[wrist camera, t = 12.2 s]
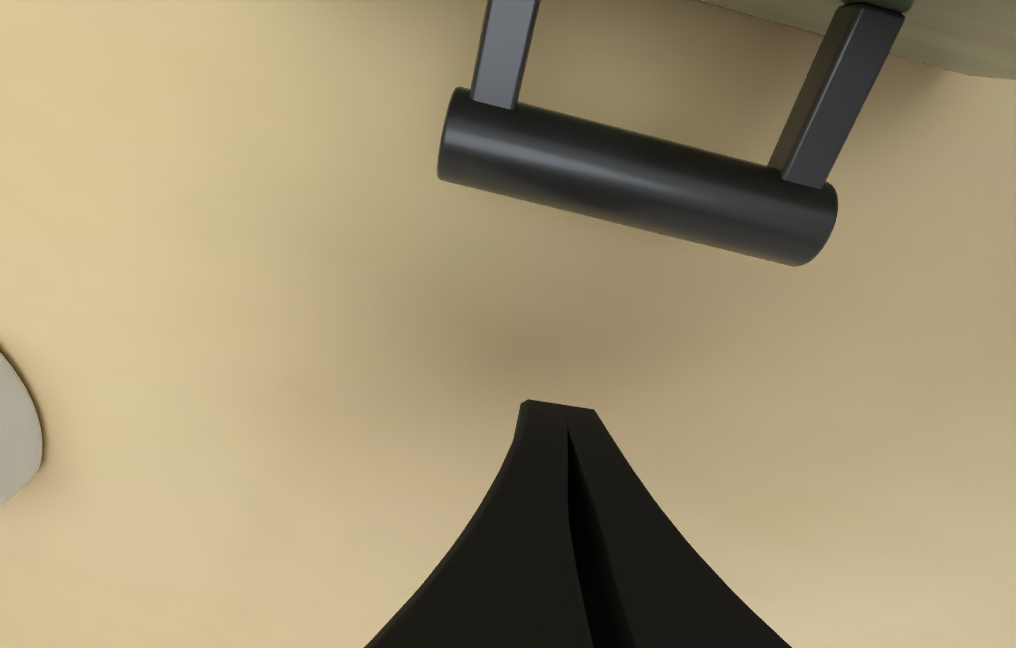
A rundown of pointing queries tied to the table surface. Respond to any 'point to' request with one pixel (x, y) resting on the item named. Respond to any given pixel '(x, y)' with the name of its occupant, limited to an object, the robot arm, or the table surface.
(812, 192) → the drawer
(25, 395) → the eye dropper bottle
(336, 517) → the table surface
